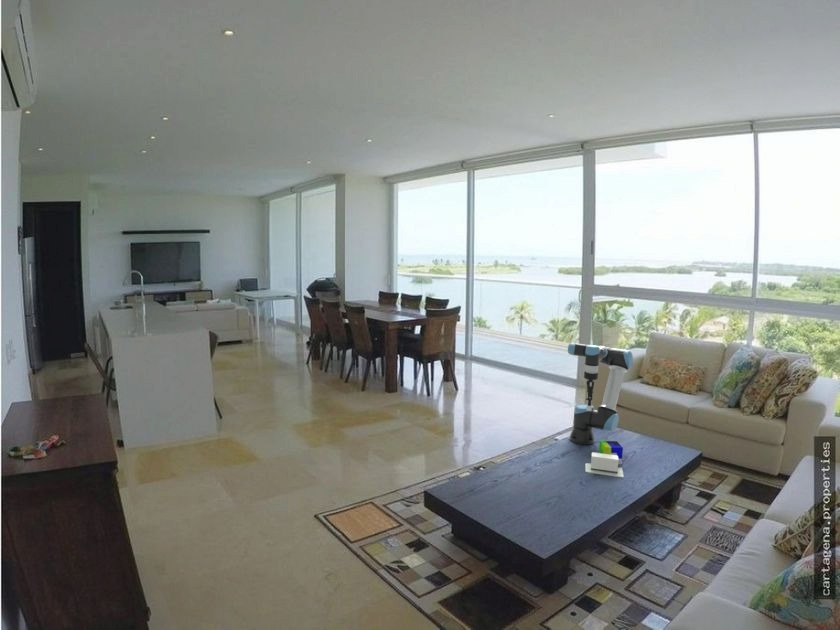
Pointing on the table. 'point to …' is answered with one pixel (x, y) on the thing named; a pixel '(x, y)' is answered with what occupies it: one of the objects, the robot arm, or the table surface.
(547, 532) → the table surface
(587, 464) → the plate
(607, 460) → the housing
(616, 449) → the puzzle toy
